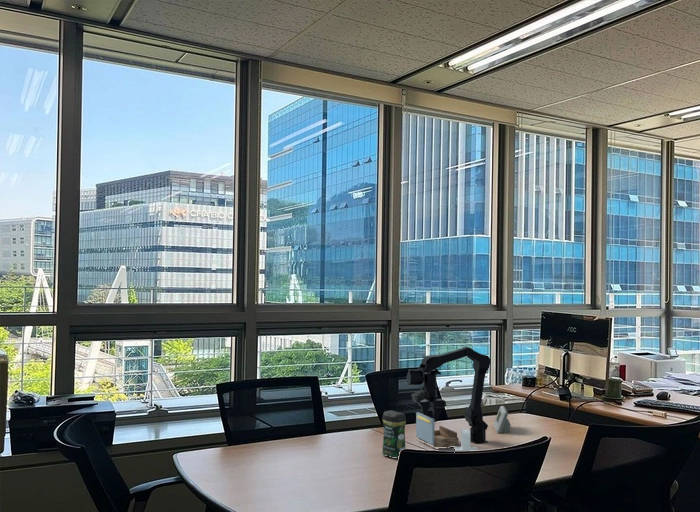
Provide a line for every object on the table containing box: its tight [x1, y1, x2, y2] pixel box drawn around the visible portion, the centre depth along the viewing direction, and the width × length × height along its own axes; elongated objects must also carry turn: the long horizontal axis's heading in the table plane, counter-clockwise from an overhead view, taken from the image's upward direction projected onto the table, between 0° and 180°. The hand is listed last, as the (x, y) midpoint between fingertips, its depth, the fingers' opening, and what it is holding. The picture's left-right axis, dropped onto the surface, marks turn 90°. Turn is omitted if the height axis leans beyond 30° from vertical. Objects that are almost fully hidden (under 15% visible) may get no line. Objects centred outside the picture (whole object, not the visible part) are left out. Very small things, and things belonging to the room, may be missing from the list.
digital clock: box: [493, 405, 511, 434], centre depth 302 cm, size 16×9×11 cm, turn 160°
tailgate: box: [415, 411, 435, 445], centre depth 273 cm, size 1×15×11 cm, turn 21°
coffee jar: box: [381, 409, 407, 458], centre depth 256 cm, size 10×8×19 cm
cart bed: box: [417, 425, 459, 447], centre depth 276 cm, size 11×16×6 cm
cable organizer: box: [453, 428, 479, 451], centre depth 261 cm, size 5×10×10 cm, turn 84°
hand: (430, 419), depth 274 cm, fingers open, 9 cm apart
